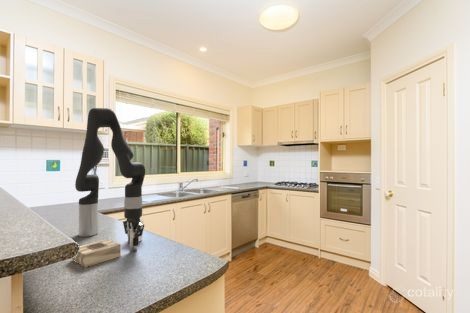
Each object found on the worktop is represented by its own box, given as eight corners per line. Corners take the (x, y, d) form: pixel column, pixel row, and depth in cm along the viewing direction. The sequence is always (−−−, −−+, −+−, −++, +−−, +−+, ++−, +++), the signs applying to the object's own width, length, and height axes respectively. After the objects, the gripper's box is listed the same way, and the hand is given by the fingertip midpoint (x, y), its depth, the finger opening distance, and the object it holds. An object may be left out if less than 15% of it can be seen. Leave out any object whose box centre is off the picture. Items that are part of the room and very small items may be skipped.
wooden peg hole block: (72, 260, 100) (72, 247, 100) (106, 249, 111) (106, 238, 111) (85, 267, 93) (85, 254, 93) (120, 255, 104) (120, 243, 104)
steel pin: (128, 251, 109) (128, 229, 109) (134, 249, 111) (134, 228, 112) (132, 253, 107) (132, 230, 107) (138, 251, 110) (138, 229, 110)
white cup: (127, 239, 126) (127, 220, 127) (143, 237, 129) (143, 218, 129) (126, 244, 119) (126, 223, 119) (143, 242, 122) (143, 222, 122)
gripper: (117, 206, 111) (117, 244, 110) (134, 209, 102) (134, 250, 102) (132, 203, 117) (132, 239, 116) (150, 206, 109) (150, 245, 108)
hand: (133, 244), depth 109 cm, fingers closed on steel pin, 3 cm apart
